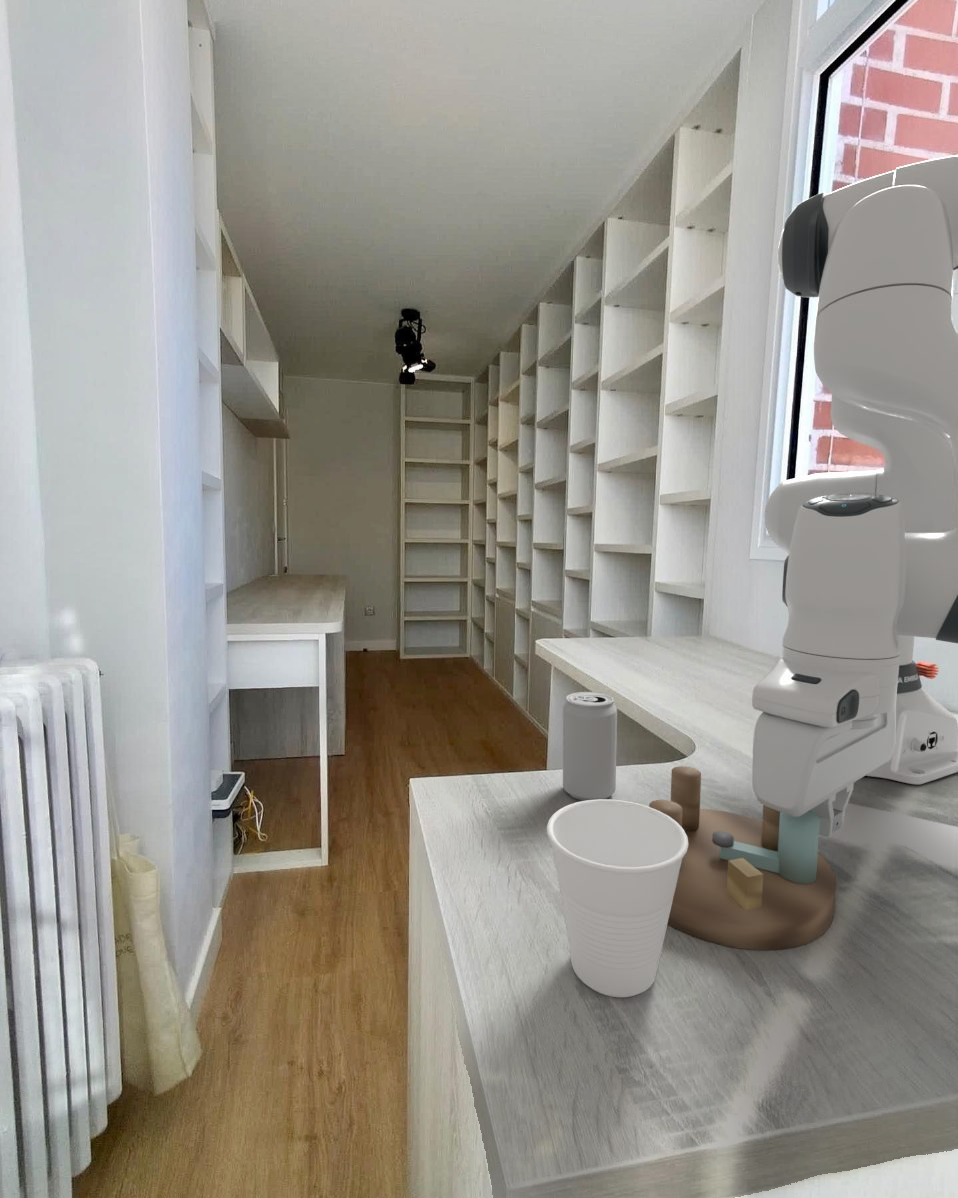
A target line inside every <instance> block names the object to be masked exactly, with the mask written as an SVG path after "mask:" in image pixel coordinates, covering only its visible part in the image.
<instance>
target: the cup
mask: <svg viewBox="0 0 958 1198" xmlns="http://www.w3.org/2000/svg"><path fill="white" fill-rule="evenodd" d="M546 825H547V826H546V835H547V837H548V839H549V841H550V843H551V847H552V852H553V860H554V864H555V865H554V866H555V871H556V878H557V881H558V888H559V894H560V900H561V906H562V912H563V919H564V925H565V930H566V936H567V943H568V944H567V945H568V948H569V949H568V950H569V957H570V960H571V967H572V968H573V972H574V973H575V975H576V976H577V978H578V979H579V980H580V981H581V982H582V983H583V984H584V985H586V986H587V987H588V988H590V989H591V990H593V991H595V992H596V993H598V994H601V995H605V996H608V997H612V998H630V997H634V996H637V995H639V994H641V993H644V992H646V991H647V990H648V989H649V988H651V987H652V985H653V983H654V982H655V981H656V977H657V973H658V969H659V965H660V958H661V956H662V949H663V945H664V941H665V937H666V931H667V929H668V927H667V926H668V919H669V914H670V910H671V906H672V901H673V897H674V893H675V888H676V884H677V880H678V875H679V871H680V866H681V862H682V858H683V856H684V855H685V854H686V852H687V849H688V845H689V844H688V837H687V835H686V833H685V831H684V829H683V828H682V827H681V826H680V825H679V824H678V823H677V822H676V821H675V820H673V819H672V818H671V817H669V816H668V815H666V814H664V813H662V812H660V811H658V810H656V809H653V808H651V807H649V805H645V804H641V803H637V802H632V801H629V800H628V801H627V800H620V799H609V798H607V799H597V800H587V801H582V800H580V801H577V802H574V803H570V804H567V805H565V806H564V807H561V808H560V809H558V810H557V811H556V812H554V813H553V814H552V815H551V817H550V818H549V819H548V821H547V824H546Z"/></svg>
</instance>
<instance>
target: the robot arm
mask: <svg viewBox="0 0 958 1198" xmlns="http://www.w3.org/2000/svg"><path fill="white" fill-rule="evenodd" d="M777 265H778V269H779V273H780V275H781V278H782V279H783V284H784V286H785V289H786V290H787V291H789V292H790V293H791V294H793V295H794V296H796V297H802V298H817V300H816V301H817V303H816V312H815V318H814V321H815V322H814V331H813V360H814V369H815V374H816V376H817V377H818V379H819V381H820V382H821V384H822V386H824V388H825V389H826V390H827V391H828V392H829V393H831V404H830V405H831V406H830V421H831V423H832V425H833V427H834V429H835V430H836V431H837V432H839V433H840V435H842V436H844V437H845V438H848V439H850V440H852V441H854V442H857V443H859V444H862V445H865V446H868V447H871V448H873V449H876V450H877V451H879V453H881V455H882V456H883V457H884V461H885V465H884V466H883V467H881V468H880V469H876V470H859V471H838V472H834V471H833V472H820V473H819V472H818V473H812V474H809V475H803V476H799V477H795V478H790V479H786V480H783V481H781V483H779V484H778V485H777V486H776V487H775V489H774V490H773V491H772V493H771V494H770V495H769V498H768V500H767V501H766V505H765V508H764V509H765V510H764V525H765V529H766V531H767V533H768V536H769V537H770V538H771V540H772V541H773V542H774V543H775V545H777V546H778V547H779V548H780V549H782V550H783V551H784V552H786V553H787V554H788V555H787V556H786V558H785V560H784V564H783V576H782V593H781V597H782V598H781V599H782V602H783V603H784V605H785V606H786V607H787V610H788V622H787V626H786V629H785V632H784V634H783V637H782V644H781V657H779V658H778V659H777V660H776V662H775V663H774V665H773V667H772V668H771V669H770V671H769V672H768V673H767V674H766V675H765V676H764V677H763V678H762V679H760V680H759V681H758V682H757V683H756V684H755V686H754V687H753V690H752V696H751V705H752V707H753V709H754V710H756V711H759V712H761V713H760V715H759V716H758V718H757V719H756V722H755V726H754V732H753V742H752V745H753V746H752V770H751V771H752V790H753V793H754V795H755V797H756V799H757V801H758V803H759V804H761V805H762V806H763V805H764V806H767V807H769V808H772V809H774V810H777V811H779V812H782V813H785V814H788V815H791V816H794V817H799V816H802V815H803V814H805V813H806V812H808V811H809V810H811V811H813V812H815V813H816V814H818V815H819V817H820V826H819V836H823V837H829V836H831V835H832V834H833V833H834V832H835V831H837V830H839V829H840V828H842V827H843V826H844V824H845V817H846V816H845V813H846V809H847V807H848V803H849V802H850V798H851V796H852V794H853V791H854V783H856V782H857V781H859V780H861V779H862V778H864V777H865V776H867V777H874V778H882V779H888V780H893V781H897V782H901V783H905V784H910V785H923V784H925V783H929V782H931V781H935V780H937V779H942V778H944V777H947V776H950V775H953V774H956V773H958V720H957V718H956V716H954V714H953V713H951V712H950V711H949V710H948V709H947V708H946V707H944V706H943V705H941V704H940V703H939V702H938V701H937V700H935V699H934V698H933V697H932V696H931V695H930V694H928V693H927V692H926V691H925V690H924V689H923V688H922V687H923V685H922V681H921V676H922V677H925V678H927V679H931V680H932V679H935V678H936V677H937V675H938V672H939V667H938V665H937V664H935V663H931V662H930V663H929V662H925V661H924V660H923V661H922V660H921V661H918V662H917V663H916V662H915V661H914V660H913V657H914V645H915V643H914V642H915V638H916V637H917V638H919V637H920V638H929V639H935V640H936V641H940V642H946V643H952V644H958V331H957V329H956V326H955V324H954V321H953V314H952V305H953V304H952V302H953V290H954V287H953V286H954V271H955V270H958V154H956V155H950V156H949V155H948V156H945V157H940V158H939V157H938V158H933V159H928V160H923V161H919V162H915V163H911V164H906V165H903V166H899V167H896V169H895V170H892V171H887V172H885V173H882V174H878V175H875V176H872V177H869V178H866V179H862V180H860V181H856V182H855V183H854V182H853V183H852V184H849V185H846V186H843V187H842V188H839V189H836V190H834V191H832V192H830V193H829V192H828V193H827V192H826V191H823V192H821V193H817V194H816V195H814V196H811V197H810V198H808V199H805V200H803V201H801V202H800V203H798V204H797V205H796V206H795V207H794V208H793V210H792V211H791V213H790V214H789V215H788V216H787V217H786V219H785V221H784V227H783V229H782V232H781V235H780V238H779V242H778V247H777Z"/></svg>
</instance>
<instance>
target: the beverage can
mask: <svg viewBox="0 0 958 1198" xmlns="http://www.w3.org/2000/svg"><path fill="white" fill-rule="evenodd" d="M565 700H566V702H565V703H564V705H563V706H562V707H563V708H562V787H563V790H564V791H565V792H566V793H568V795H570V797H572V798H573V799H576V800H579V801H587V800H597V799H609V798H610V796H612V795H613V794H615V792H616V789H617V742H618V741H617V740H618V738H617V735H618V734H617V729H618V728H617V727H618V724H617V723H618V709H617V707H616V705H615V698H614V697H613V696H611V695H609V694H607V693H602V692H597V691H580V692H579V691H578V692H573V693H570V694H568V695H566V697H565Z"/></svg>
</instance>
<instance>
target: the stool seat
mask: <svg viewBox="0 0 958 1198" xmlns="http://www.w3.org/2000/svg"><path fill="white" fill-rule="evenodd" d="M670 779H671V780H670V800H667V799H655V800H652V801H650V803H649V805H648V807H651V808H653V809H656V810H658V811H660V812H662V813H664V814H666V815H668V816H669V817H671V818H672V819H673V820H675V821H676V822H677V823H678V824H679V825H680V826H681V827H682V828H683V829H684V831H685V833H686V835H687V837H688V844H689V845H688V849H687V852H686V854H685V855H684V856H683V858H682V862H681V866H680V871H679V875H678V880H677V884H676V888H675V893H674V897H673V901H672V906H671V910H670V914H669V919H668V924H667V926H670V927H671V928H673V929H676V930H677V931H680V932H682V933H684V934H687V935H688V936H692V937H693V938H697V939H700V940H701V941H706V942H709V943H712V944H716V945H721V946H725V947H729V948H735V949H742V950H751V951H752V950H753V951H777V950H778V951H779V950H780V951H781V950H787V949H794V948H797V947H801V946H804V945H807V944H809V943H811V942H814V941H816V940H818V939H819V938H820V937H821V936H823V935H824V934H826V932H827V931H828V930H829V929H831V926H832V924H833V921H834V918H835V917H834V915H835V907H836V895H837V894H836V893H837V881H836V876H835V873H834V871H833V869H832V867H831V866H830V864H829V862H828V861H827V860H826V859H825V858H824V857H823V856H822V854H821V853H819V852H818V856H817V871H816V880H815V881H814V882H813V883H809V884H801V883H796V882H792V881H789V880H787V879H785V878H784V877H782V876H781V875H780V874H779V873H776V872H772V871H768V870H765V869H761V868H757V867H754V866H752V865H751V864H750V863H749V862H747V861H746V860H745V859H744V858H740V859H734V860H726V859H722V858H720V846H717V845H715V844H714V843H713V841H712V836H713V832H716V831H724V832H728V833H730V834H731V835H733V837H734V841H736V842H740V843H744V844H748V845H752V846H756V847H760V848H764V849H769V850H773V851H777V852H778V841H779V824H780V812H779V811H777V810H774V809H772V808H769V807H767V806H764V805H762V820H761V819H760V820H759V819H756V818H753V817H750V816H745V815H743V814H738V813H734V812H728V811H722V810H715V809H706V808H705V809H704V808H701V790H702V788H701V787H702V772H701V771H700V770H699V769H696V768H694V767H690V766H686V765H685V766H683V765H682V766H675V767H673V768H672V769H671V778H670Z"/></svg>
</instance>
